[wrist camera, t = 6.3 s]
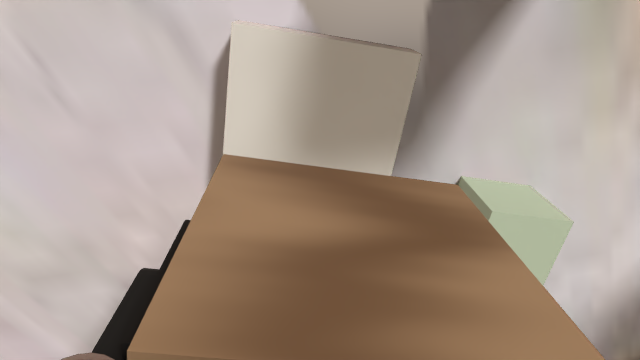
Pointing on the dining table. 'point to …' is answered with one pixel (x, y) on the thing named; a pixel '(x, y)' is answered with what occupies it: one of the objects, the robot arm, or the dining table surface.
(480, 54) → the dining table surface
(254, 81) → the stone base
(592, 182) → the dining table surface
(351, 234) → the walnut block
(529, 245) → the sage block
